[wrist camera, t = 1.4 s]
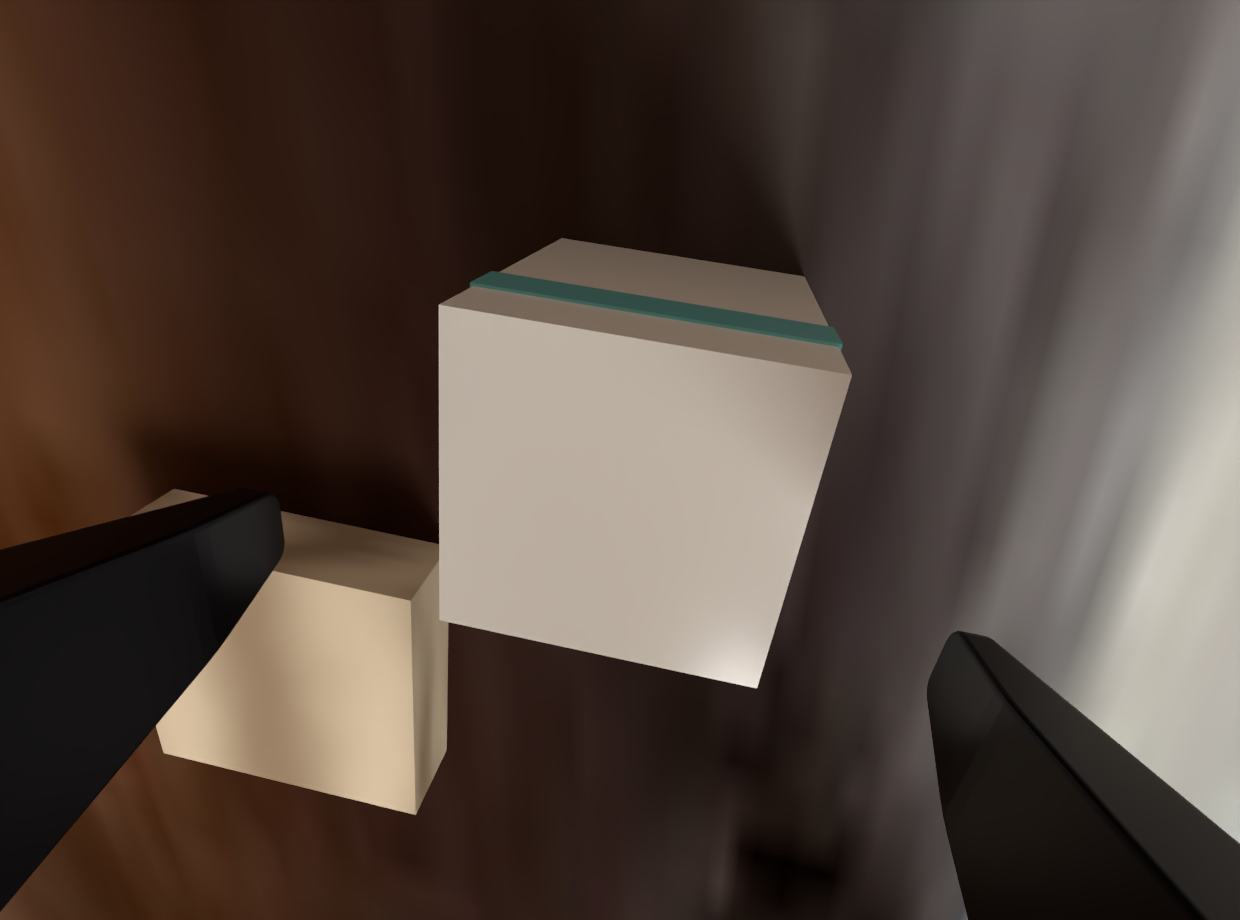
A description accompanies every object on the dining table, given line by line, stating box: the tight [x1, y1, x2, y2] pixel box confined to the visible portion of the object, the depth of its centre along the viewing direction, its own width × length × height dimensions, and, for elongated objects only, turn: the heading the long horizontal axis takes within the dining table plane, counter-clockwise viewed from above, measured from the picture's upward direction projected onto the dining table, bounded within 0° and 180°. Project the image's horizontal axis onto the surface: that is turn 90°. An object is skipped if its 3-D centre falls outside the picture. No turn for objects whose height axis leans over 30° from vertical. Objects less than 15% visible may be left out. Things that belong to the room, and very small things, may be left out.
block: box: [131, 489, 448, 815], centre depth 21 cm, size 9×9×3 cm
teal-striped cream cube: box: [439, 238, 852, 688], centre depth 13 cm, size 6×6×7 cm
